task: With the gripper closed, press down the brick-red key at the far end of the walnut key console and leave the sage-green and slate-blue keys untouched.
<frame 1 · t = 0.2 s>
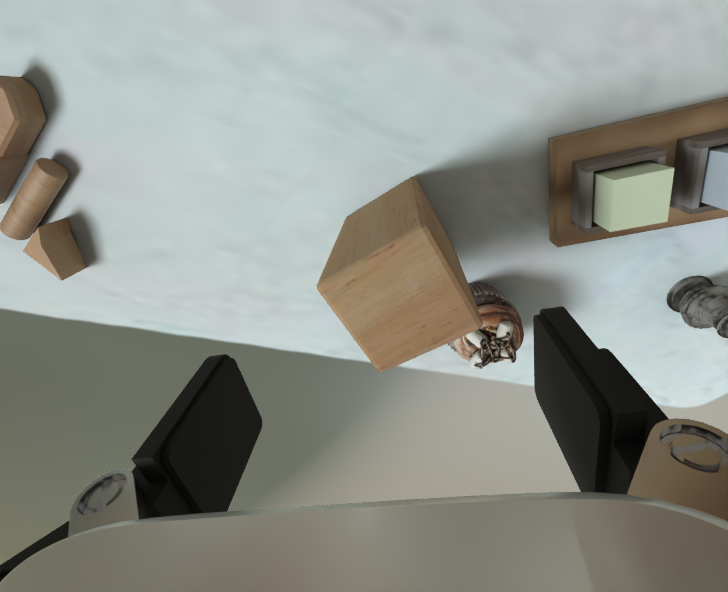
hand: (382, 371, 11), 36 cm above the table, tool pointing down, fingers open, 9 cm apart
wooden block: (398, 230, 47), on the table
console: (693, 162, 41), on the table
wooden block set: (59, 183, 48), on the table
grey tall stone piece: (688, 293, 48), on the table
cupcake: (473, 307, 51), on the table
sage key: (629, 196, 36), point 7 cm above the table, slide at 0.0 cm
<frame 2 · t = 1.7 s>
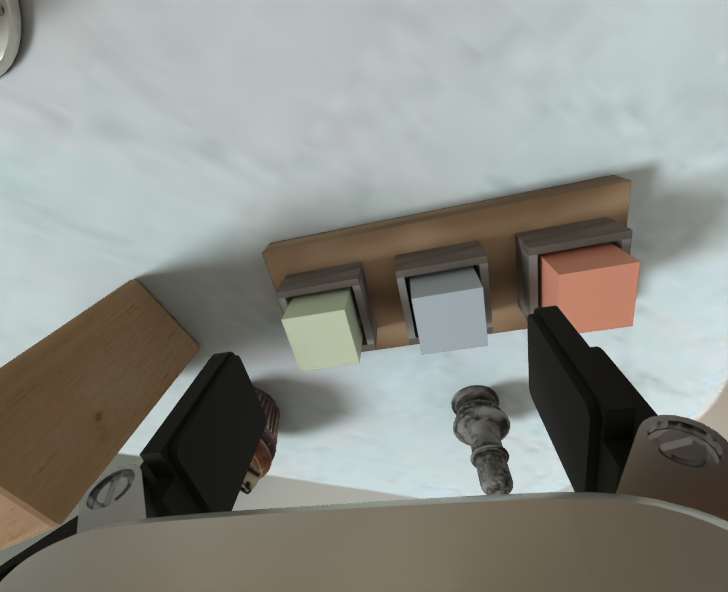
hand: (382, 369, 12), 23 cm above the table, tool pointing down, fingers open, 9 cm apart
wooden block: (141, 331, 41), on the table
slate key: (447, 309, 29), point 7 cm above the table, slide at 0.0 cm
console: (437, 272, 35), on the table
grey tall stone piece: (474, 402, 43), on the table
red key: (583, 288, 27), point 7 cm above the table, slide at 0.0 cm
cupcake: (248, 408, 46), on the table
sage key: (325, 328, 31), point 7 cm above the table, slide at 0.0 cm
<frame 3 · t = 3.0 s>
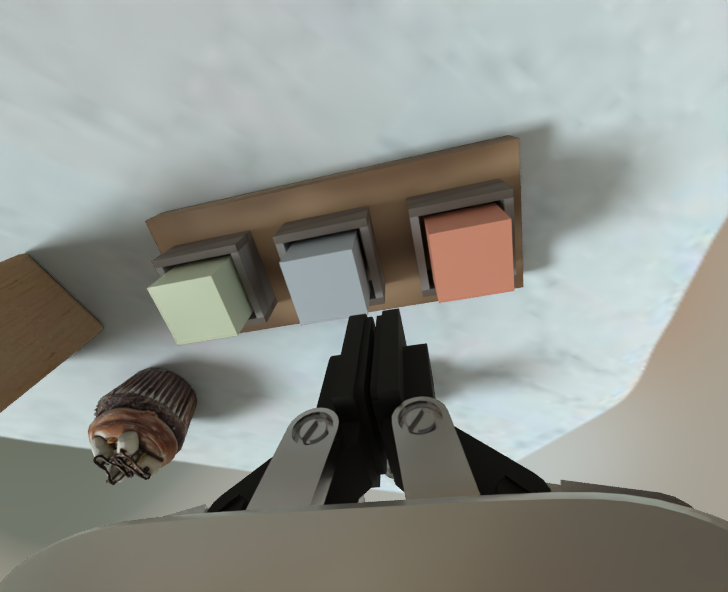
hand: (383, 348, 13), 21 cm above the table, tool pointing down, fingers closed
wooden block: (41, 310, 39), on the table
slate key: (328, 277, 27), point 7 cm above the table, slide at 0.0 cm
console: (339, 244, 33), on the table
red key: (467, 252, 26), point 7 cm above the table, slide at 0.0 cm
cupcake: (165, 393, 44), on the table
sage key: (205, 299, 29), point 7 cm above the table, slide at 0.0 cm
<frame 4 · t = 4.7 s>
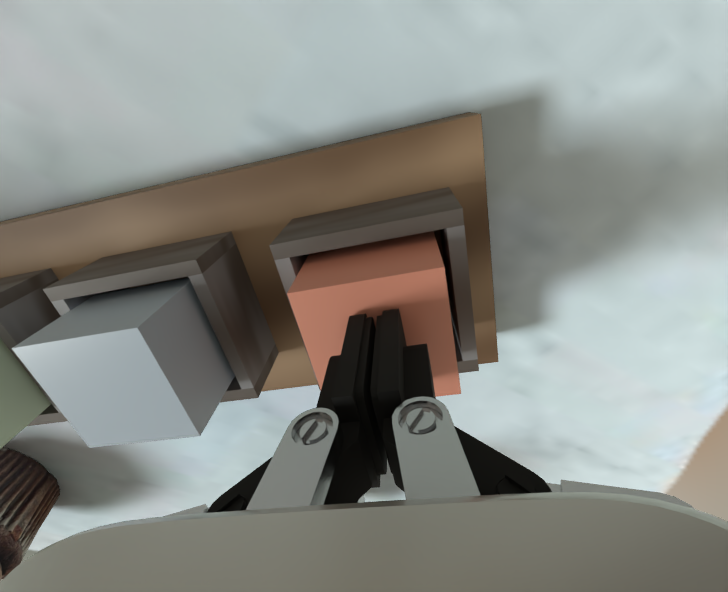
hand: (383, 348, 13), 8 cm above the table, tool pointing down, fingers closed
slate key: (143, 360, 15), point 7 cm above the table, slide at 0.0 cm
console: (215, 286, 22), on the table
red key: (380, 316, 14), point 6 cm above the table, slide at 0.7 cm, touching gripper
cupcake: (16, 475, 32), on the table
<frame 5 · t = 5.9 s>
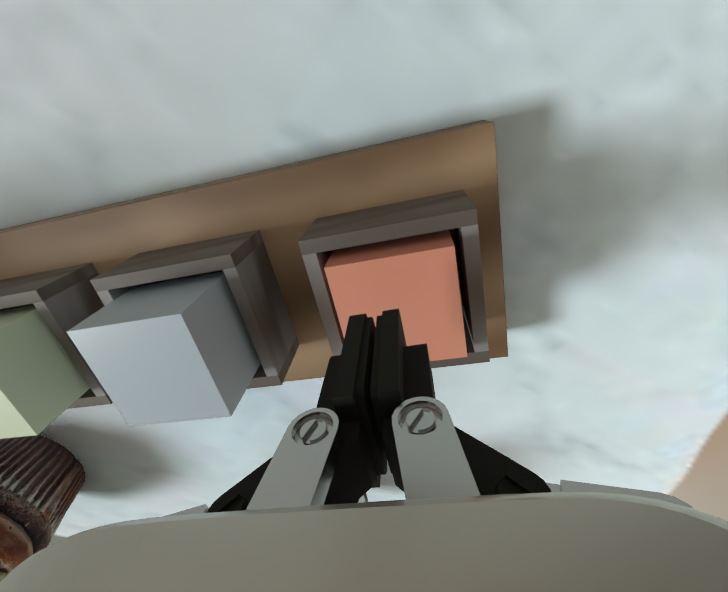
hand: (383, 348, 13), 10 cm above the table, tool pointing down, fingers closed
slate key: (178, 347, 17), point 7 cm above the table, slide at 0.0 cm
console: (240, 282, 23), on the table
red key: (399, 292, 17), point 5 cm above the table, slide at 2.2 cm
cupcake: (45, 461, 34), on the table
sage key: (2, 371, 19), point 7 cm above the table, slide at 0.0 cm
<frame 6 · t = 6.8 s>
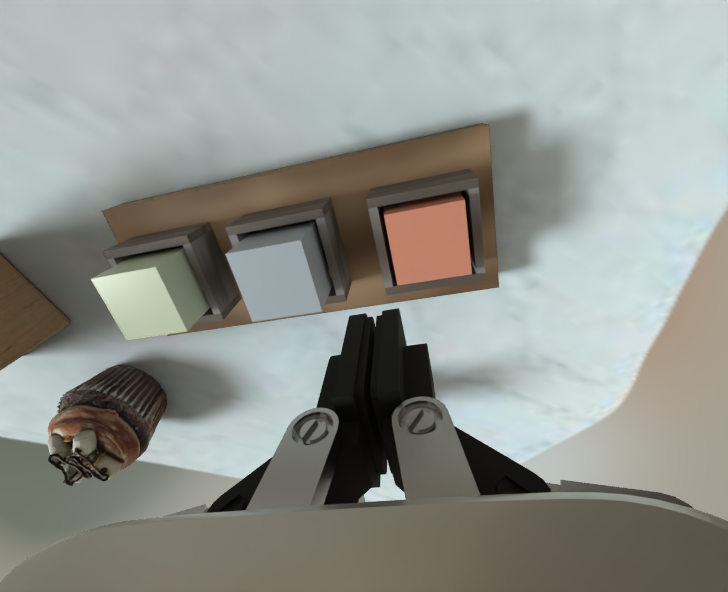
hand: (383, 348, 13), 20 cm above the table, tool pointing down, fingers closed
wooden block: (7, 303, 38), on the table
slate key: (283, 271, 26), point 7 cm above the table, slide at 0.0 cm
console: (306, 239, 32), on the table
red key: (427, 235, 26), point 5 cm above the table, slide at 2.2 cm
cupcake: (134, 391, 42), on the table
sage key: (157, 292, 27), point 7 cm above the table, slide at 0.0 cm
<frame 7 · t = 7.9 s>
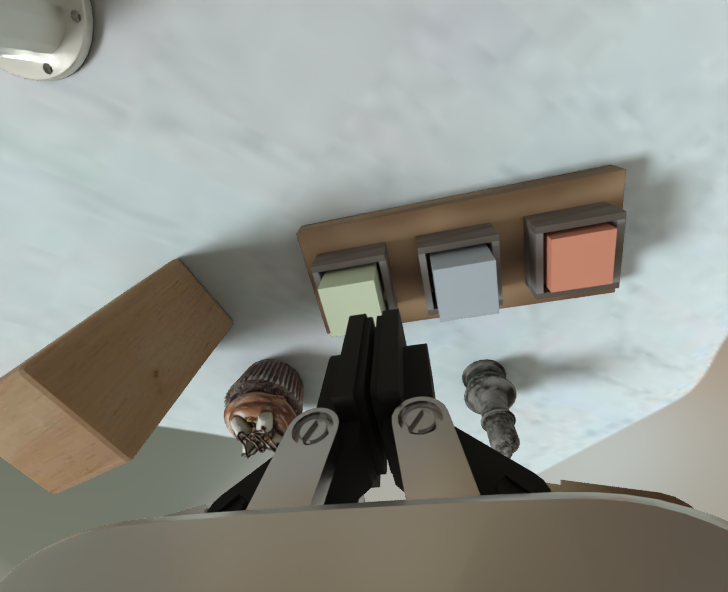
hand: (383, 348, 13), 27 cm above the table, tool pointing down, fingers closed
wooden block: (179, 307, 45), on the table
slate key: (463, 282, 33), point 7 cm above the table, slide at 0.0 cm
console: (452, 253, 39), on the table
grey tall stone piece: (483, 375, 46), on the table
red key: (572, 253, 33), point 5 cm above the table, slide at 2.2 cm
cupcake: (274, 382, 50), on the table
sage key: (354, 299, 35), point 7 cm above the table, slide at 0.0 cm
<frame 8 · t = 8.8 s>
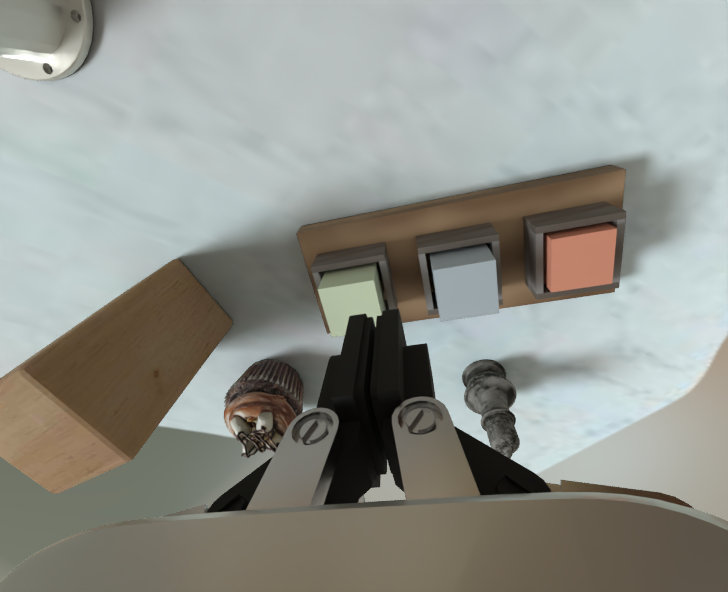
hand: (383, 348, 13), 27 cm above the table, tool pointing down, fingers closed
wooden block: (179, 307, 45), on the table
slate key: (463, 282, 33), point 7 cm above the table, slide at 0.0 cm
console: (452, 253, 39), on the table
grey tall stone piece: (483, 375, 46), on the table
red key: (572, 253, 33), point 5 cm above the table, slide at 2.2 cm
cupcake: (274, 382, 50), on the table
sage key: (354, 299, 35), point 7 cm above the table, slide at 0.0 cm
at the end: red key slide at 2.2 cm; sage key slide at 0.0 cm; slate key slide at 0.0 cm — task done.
